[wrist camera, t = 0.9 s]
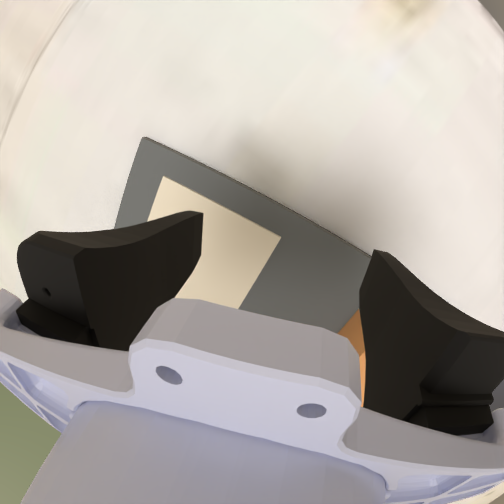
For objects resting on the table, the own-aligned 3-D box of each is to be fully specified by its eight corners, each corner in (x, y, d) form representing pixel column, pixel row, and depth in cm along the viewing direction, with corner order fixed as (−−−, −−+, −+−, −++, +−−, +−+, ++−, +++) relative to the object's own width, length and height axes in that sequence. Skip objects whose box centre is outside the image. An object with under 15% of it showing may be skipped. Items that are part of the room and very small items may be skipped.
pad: (227, 326, 26) (226, 327, 26) (132, 273, 26) (131, 274, 25) (281, 236, 22) (281, 237, 21) (164, 175, 21) (163, 176, 21)
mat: (372, 400, 28) (372, 404, 28) (107, 271, 27) (104, 274, 26) (460, 315, 22) (462, 318, 22) (145, 136, 21) (141, 137, 20)
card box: (351, 374, 26) (355, 413, 22) (314, 358, 26) (313, 399, 21) (405, 319, 23) (420, 358, 18) (367, 298, 22) (378, 337, 18)
